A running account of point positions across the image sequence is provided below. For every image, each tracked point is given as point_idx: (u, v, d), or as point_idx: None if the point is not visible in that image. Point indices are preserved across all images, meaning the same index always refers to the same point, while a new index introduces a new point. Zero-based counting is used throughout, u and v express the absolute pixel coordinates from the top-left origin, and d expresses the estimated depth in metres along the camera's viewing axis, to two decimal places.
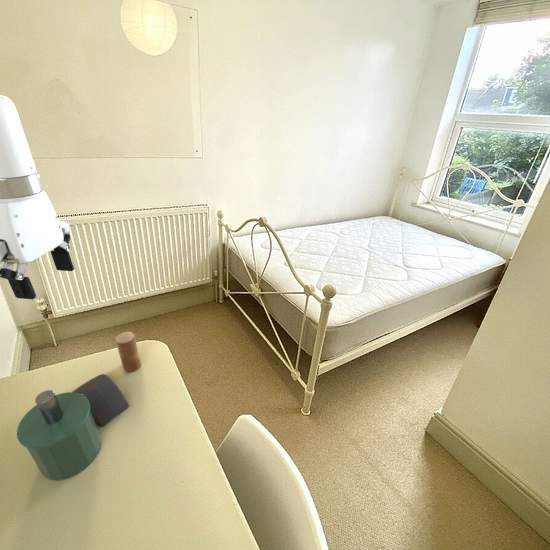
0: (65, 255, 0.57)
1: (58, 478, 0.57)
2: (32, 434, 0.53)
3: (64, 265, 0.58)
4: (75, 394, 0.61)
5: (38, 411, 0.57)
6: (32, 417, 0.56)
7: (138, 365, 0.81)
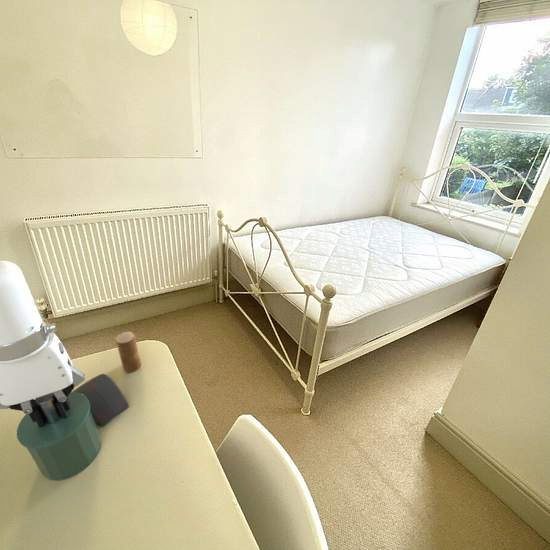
0: None
1: (58, 478, 0.57)
2: (32, 434, 0.53)
3: None
4: (75, 394, 0.61)
5: None
6: None
7: (138, 365, 0.81)
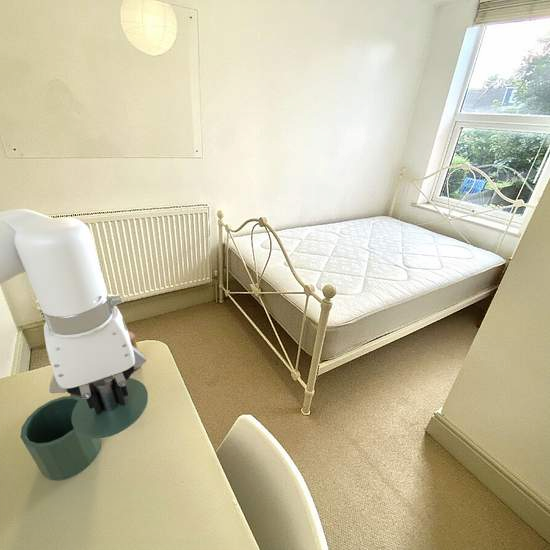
0: None
1: (58, 478, 0.57)
2: (89, 422, 0.47)
3: None
4: (129, 379, 0.55)
5: None
6: (86, 403, 0.50)
7: None
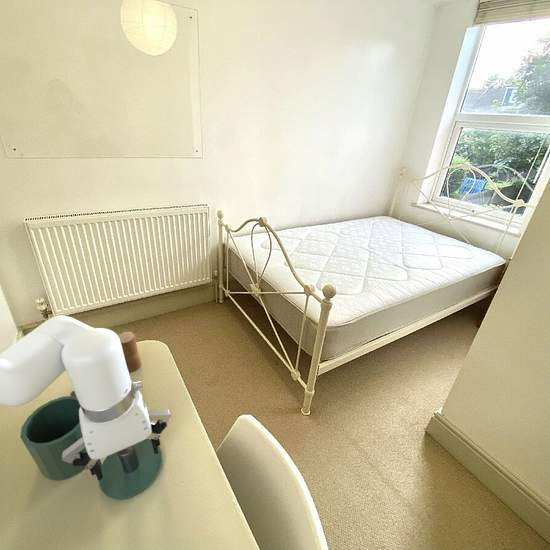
0: (152, 443, 0.57)
1: (58, 478, 0.57)
2: (114, 484, 0.56)
3: None
4: (145, 440, 0.63)
5: (114, 459, 0.60)
6: (110, 465, 0.59)
7: (138, 365, 0.81)
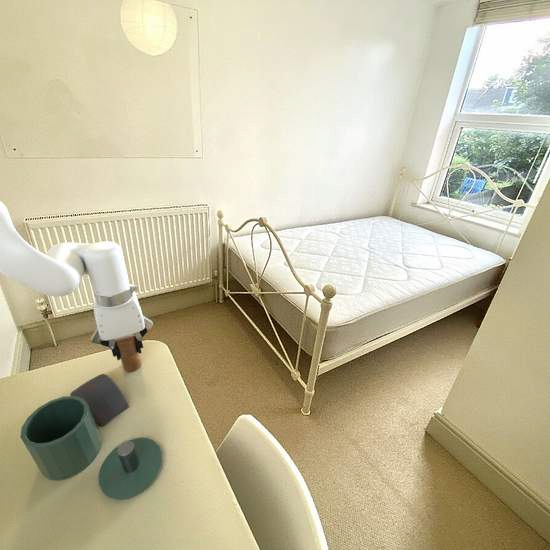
0: None
1: (58, 478, 0.57)
2: (114, 484, 0.56)
3: (137, 348, 0.80)
4: (145, 440, 0.63)
5: (114, 459, 0.60)
6: (110, 465, 0.59)
7: (138, 365, 0.81)
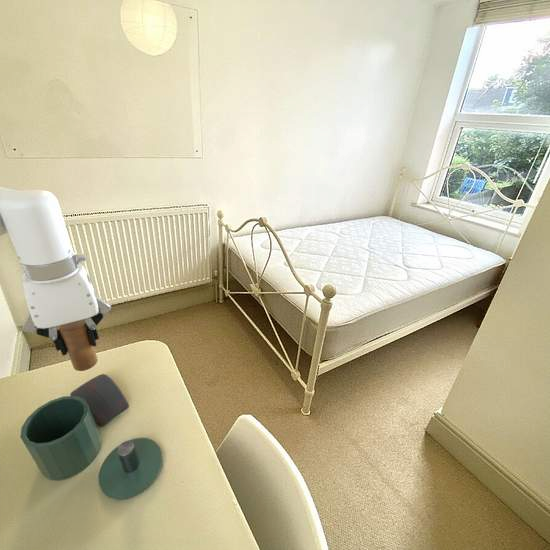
0: (88, 333, 0.60)
1: (58, 478, 0.57)
2: (114, 484, 0.56)
3: None
4: (145, 440, 0.63)
5: (114, 459, 0.60)
6: (110, 465, 0.59)
7: (93, 362, 0.63)
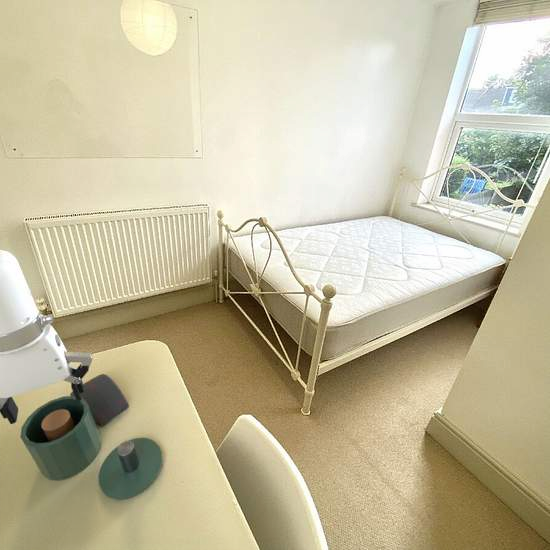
0: (72, 387, 0.54)
1: (58, 478, 0.57)
2: (114, 484, 0.56)
3: None
4: (145, 440, 0.63)
5: (114, 459, 0.60)
6: (110, 465, 0.59)
7: None
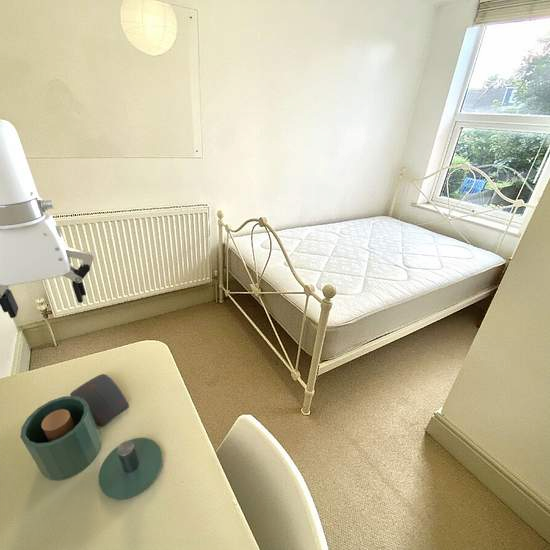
0: (73, 286, 0.53)
1: (58, 478, 0.57)
2: (114, 484, 0.56)
3: None
4: (145, 440, 0.63)
5: (114, 459, 0.60)
6: (110, 465, 0.59)
7: None
